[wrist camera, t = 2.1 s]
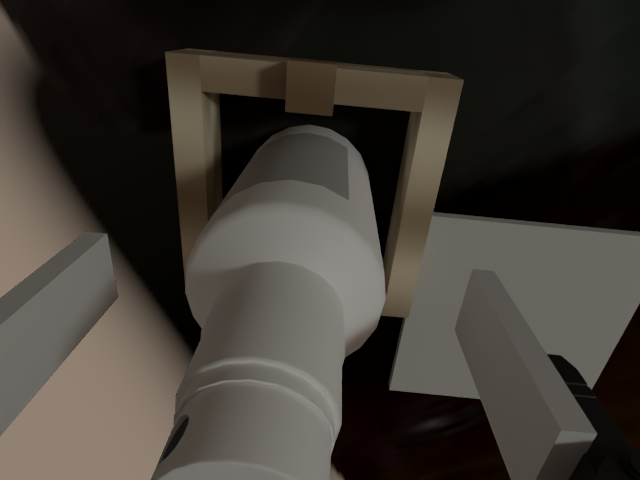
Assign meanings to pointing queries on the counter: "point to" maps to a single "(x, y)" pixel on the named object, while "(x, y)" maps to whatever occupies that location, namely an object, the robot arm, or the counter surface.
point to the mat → (518, 295)
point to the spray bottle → (277, 313)
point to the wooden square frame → (318, 99)
